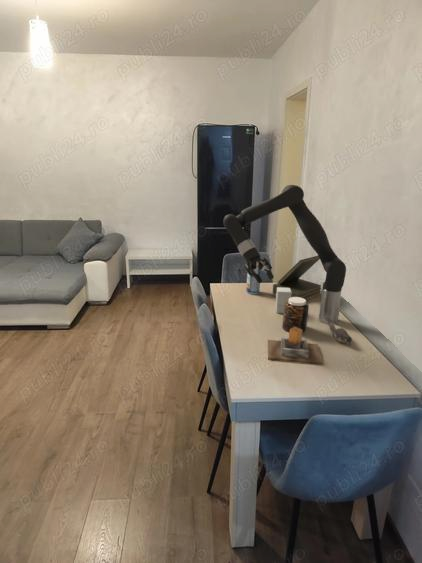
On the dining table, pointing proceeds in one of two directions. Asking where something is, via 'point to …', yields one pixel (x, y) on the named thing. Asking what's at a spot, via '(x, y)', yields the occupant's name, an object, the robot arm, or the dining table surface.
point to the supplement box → (282, 298)
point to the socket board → (294, 352)
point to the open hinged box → (299, 280)
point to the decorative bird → (338, 332)
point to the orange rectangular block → (295, 338)
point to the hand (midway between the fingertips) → (266, 280)
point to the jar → (295, 314)
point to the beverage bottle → (253, 284)
